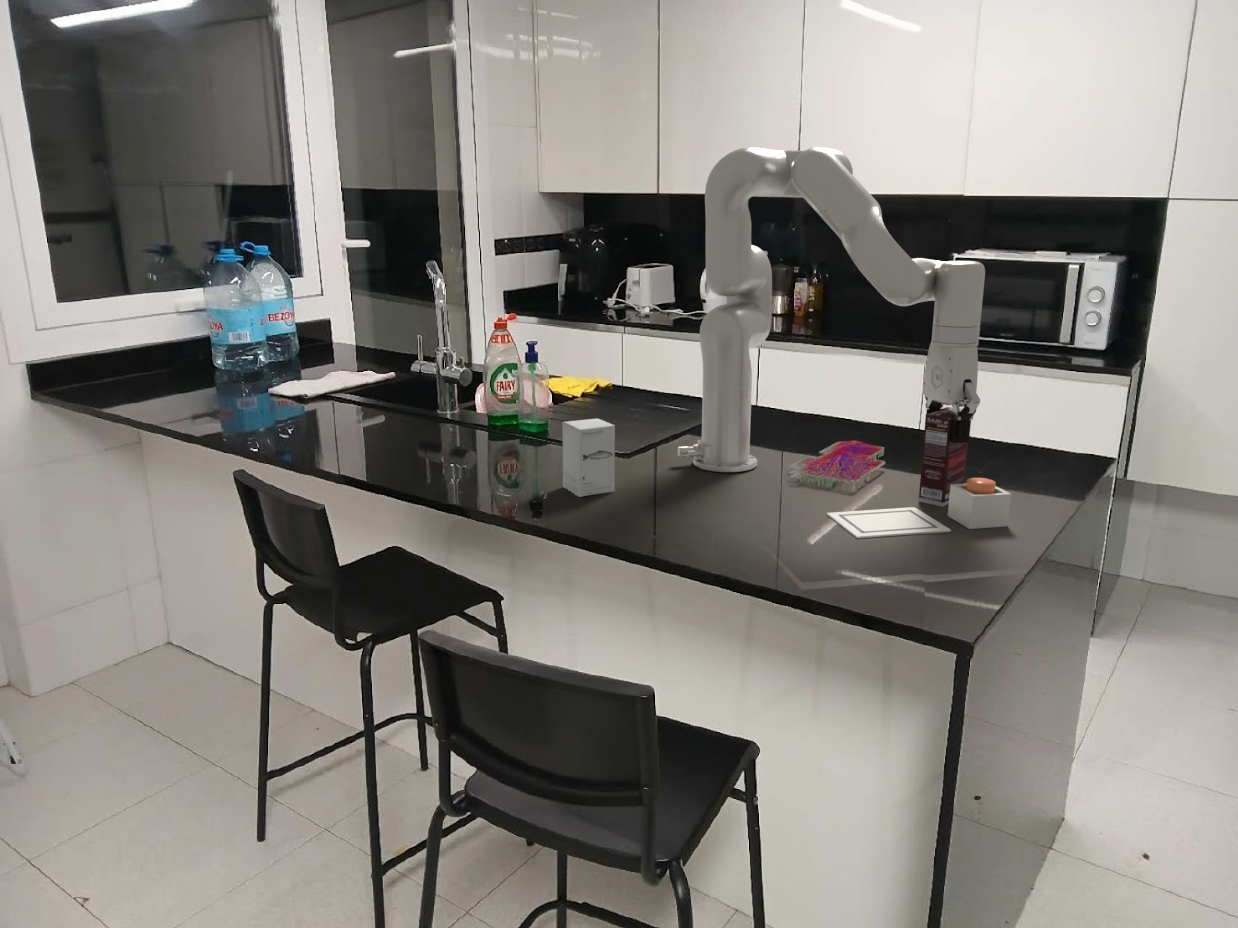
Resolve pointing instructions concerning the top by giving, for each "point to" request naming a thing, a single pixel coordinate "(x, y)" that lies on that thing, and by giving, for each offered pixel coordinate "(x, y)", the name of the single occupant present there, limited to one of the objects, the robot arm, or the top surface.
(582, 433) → the supplement box
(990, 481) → the button
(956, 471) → the supplement box
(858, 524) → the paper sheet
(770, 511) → the top surface
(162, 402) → the top surface
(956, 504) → the button housing
